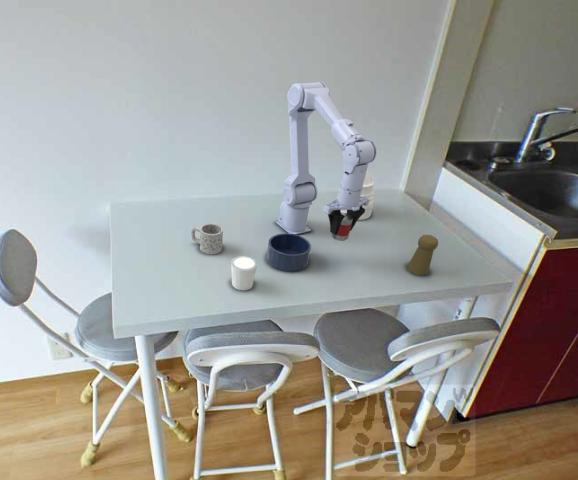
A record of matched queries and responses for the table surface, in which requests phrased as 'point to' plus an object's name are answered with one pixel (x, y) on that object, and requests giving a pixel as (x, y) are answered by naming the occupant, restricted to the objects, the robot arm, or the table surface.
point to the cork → (423, 255)
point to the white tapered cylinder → (243, 272)
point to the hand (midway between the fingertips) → (340, 231)
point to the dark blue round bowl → (288, 252)
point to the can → (344, 228)
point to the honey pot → (367, 192)
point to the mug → (209, 238)
